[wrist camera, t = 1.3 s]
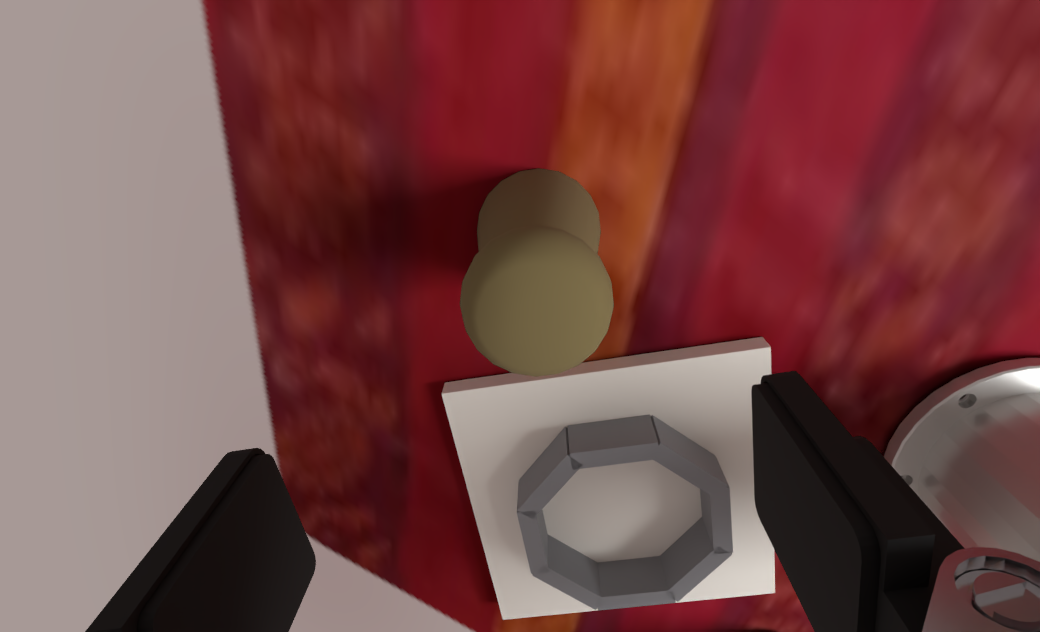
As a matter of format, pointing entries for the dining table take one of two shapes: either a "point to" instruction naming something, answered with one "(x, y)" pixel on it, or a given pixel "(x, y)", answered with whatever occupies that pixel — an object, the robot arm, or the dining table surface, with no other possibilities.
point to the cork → (537, 276)
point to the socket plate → (617, 480)
